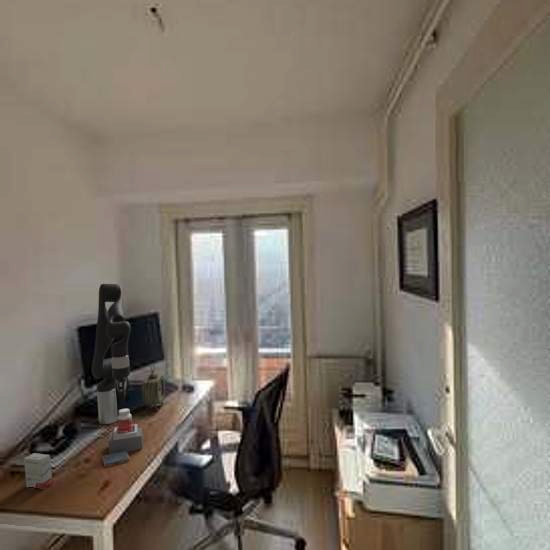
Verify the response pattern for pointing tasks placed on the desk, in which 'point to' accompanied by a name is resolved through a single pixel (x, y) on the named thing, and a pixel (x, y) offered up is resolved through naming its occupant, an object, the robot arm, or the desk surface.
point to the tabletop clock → (153, 389)
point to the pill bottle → (124, 421)
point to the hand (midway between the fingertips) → (123, 400)
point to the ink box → (38, 470)
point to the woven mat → (115, 458)
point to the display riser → (126, 440)
